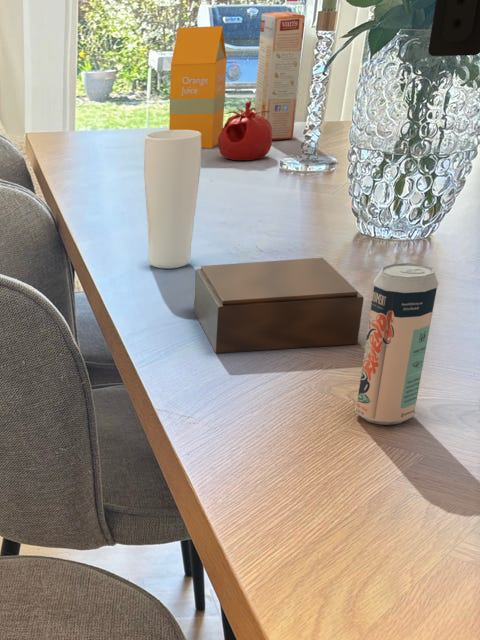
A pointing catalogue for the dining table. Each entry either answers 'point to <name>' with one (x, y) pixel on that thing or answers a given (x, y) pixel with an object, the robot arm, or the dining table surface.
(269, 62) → the cracker box
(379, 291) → the beer can
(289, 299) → the walnut block
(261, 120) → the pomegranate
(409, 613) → the dining table surface
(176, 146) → the drinking glass
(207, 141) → the orange juice
